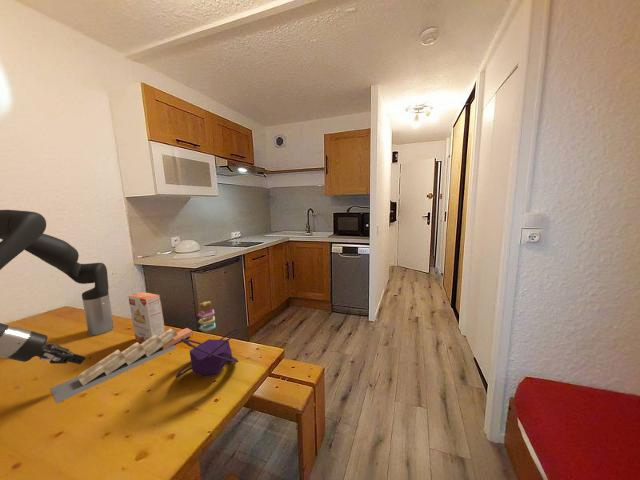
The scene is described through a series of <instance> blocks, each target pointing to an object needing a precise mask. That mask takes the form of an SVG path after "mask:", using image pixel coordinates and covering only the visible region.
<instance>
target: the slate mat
mask: <svg viewBox="0 0 640 480" xmlns="http://www.w3.org/2000/svg"><path fill="white" fill-rule="evenodd" d="M177 348H178V346H176V345H175V344H174V345H172V346H170V347H168V348H166V349H164V350H163V349H162V348H159V349H158V350H157V351H155V352H154V353H152V354H151V355H150V356H148V357H147V356H146V355H145V354H144V355H143V356H141V357H140V358H138V359H137V360H136V361H134V362H133V363H132V364H130V365H128V364H127V363H124V364H123V365H121V366H120V367H118V368H117V369H115V370H114V371H113V372H111V373H110V374H108V375H106V374H105V372H103V373H101V374H100V375H98V376H97V377H96V378H94V379H93V380H91V381H90V382H88V383H87V384H85V385H84V386H83V385H82V383H81V382H80V381H79V379H78V377H77V376H75V377H74V378H72V379H69V380H66V381H64V382H62V383H59V384H57V385H55V386H52V387H50V391H51V393H52V396H53V398H54V400H55V403H56V404H59V403H61V402H63V401H65V400H68V399H69V398H71V397H73V396H75V395H78V394H80V393H82V392H85V391H86V390H88V389H91V388H92V387H95V386H97V385H100V384H102V383H103V382H106V381H108V380H110V379H113V378H114V377H117V376H119V375H121V374H123V373H126V372H127V371H129V370H131V369H134V368H136V367H138V366H141V365H143V364H145V363H147V362H150V361H151V360H154V359H155V358H158V357H160V356H162V355H164V354H166V353H169V352H171V351H173V350H175V349H177Z"/></svg>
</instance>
